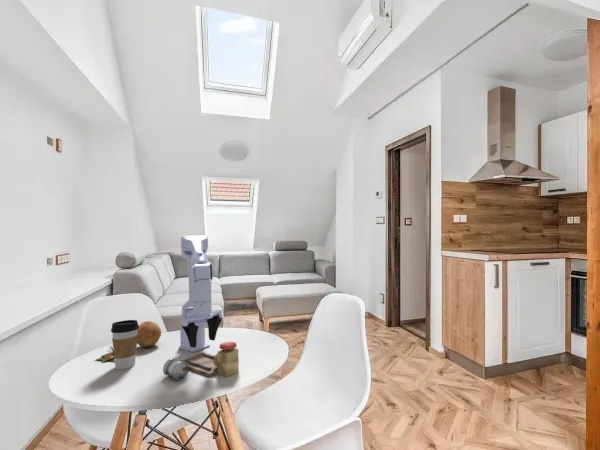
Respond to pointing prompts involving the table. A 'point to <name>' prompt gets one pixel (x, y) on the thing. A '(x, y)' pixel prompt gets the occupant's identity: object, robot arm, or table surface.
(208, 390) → the table surface
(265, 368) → the table surface
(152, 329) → the onion
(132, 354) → the coffee cup
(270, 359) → the table surface
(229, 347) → the slider rig
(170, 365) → the pipe coupling
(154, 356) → the table surface
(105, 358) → the lily flower
